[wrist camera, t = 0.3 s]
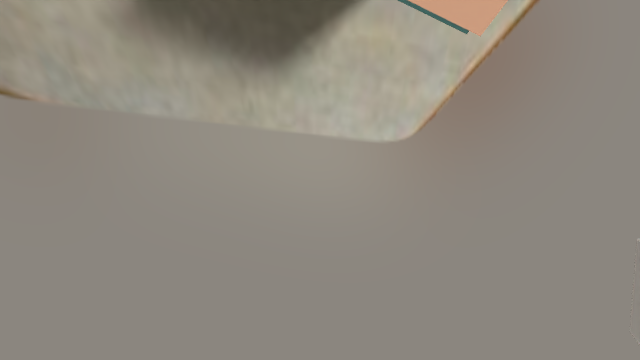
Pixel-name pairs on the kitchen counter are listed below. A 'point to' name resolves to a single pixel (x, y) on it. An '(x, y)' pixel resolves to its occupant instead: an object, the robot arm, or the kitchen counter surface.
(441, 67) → the kitchen counter surface
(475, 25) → the terracotta tile
